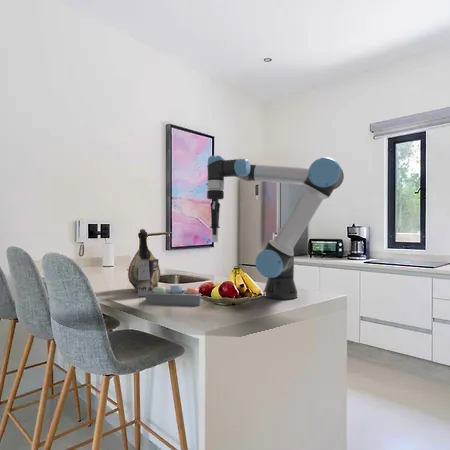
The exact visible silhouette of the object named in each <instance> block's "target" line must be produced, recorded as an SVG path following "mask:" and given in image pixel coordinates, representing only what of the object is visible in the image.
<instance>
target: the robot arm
mask: <svg viewBox="0 0 450 450" xmlns="http://www.w3.org/2000/svg"><path fill="white" fill-rule="evenodd" d="M206 167H207V183H205V185H206V186H207V187H206V188H207V191H206V197H207V199H208V200H211V202H210V218H211V219H210V220H211V222H210V223H211V224H210V225H211V226H209V227H210V228H211V243H219V229H220V228H221V226H220V208H221V203H220V201H219V200H224V198H225V195H224V193H225V192H224V189H225V178H229V177H230V178H232V177H234V178H238V179H241V180H243V181H246V182H254V181H255V182H266V183H267V182H268V183H278V184H289V185H301V186H302V185H303V191H302V192H301V194H300V195H299V197H298V199H297V201H296V202H295V204H294V206H293V207H292V209H291V211H290V212H289V214H288V216H287V218H286V219H285V221H284V222H283V224H282V226H281V228H280V229H279V230H278V232H277V233H276V236H274V237H275V238H273V239H270V240H269V241H268V242H267V244H266V245H265V247H264V249H263V250H261V251H260V252H259V253H258V254H257V256H256V258H255V268H256V271H257V272H258V273H259V274H260V275H261V276H262V277H263V278H264V277H265V278H267V280H266V284H265V286H264V291H263V293H264V292H266V296H264V297H265V298H267V299H274V300H293V299H292V298H294V299H297V298H298V290H297V286H296V283H295V280H294V277H295V276H294V272H295V270H294V269H295V251H294V248H295V246H296V244H297V243H298V241H299V239H300V238H301V237H302V235H303V233H304V232H305V230H306V228H307V227H308V225H309V223H310V222H311V220H312V218H313V217H314V215H315V214H316V211H318V209H319V207H320V206H321V204H322V202H323V201H324V200H326V199H329V198H330V197H331V195H332V193H333V192H334V190H336V189H338V188H339V187H341V185H342V183H343V182H344V170H343V169H342V167H341V166H340V163H338V162H337V160H335V159H333V158H331V157H319V158H318V159H316V160H314V161H313V162H312V163H311V164H310V166H309V167H299V166H297V167H296V166H283V165H282V166H281V165H264V164H261V165H260V164H251V162H250V161H249V159H247V158H237V159H236V158H234V159H225V157H224V156H222V155H211V156H209V157H208V158H207V166H206ZM296 297H297V298H296Z"/></svg>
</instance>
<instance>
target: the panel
mask: <svg viewBox="0 0 450 450" xmlns="http://www.w3.org/2000/svg"><path fill="white" fill-rule="evenodd" d="M201 295H202V294H201V293H199V294H187V289H182V294H176V293H170V289H167V288H166V293H154V290H152V291H150V292H148V293H147V294H146V296H145V305H167V306H194V307H195V306H197V307H200V306H201V305H202V304H203V302H204V301H203V300H202V299H201V298H200V297H201Z"/></svg>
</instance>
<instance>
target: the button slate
mask: <svg viewBox="0 0 450 450" xmlns="http://www.w3.org/2000/svg"><path fill="white" fill-rule="evenodd" d="M182 290H183V286H182V285H181V284H173V285H170V293H176V294H182Z"/></svg>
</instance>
